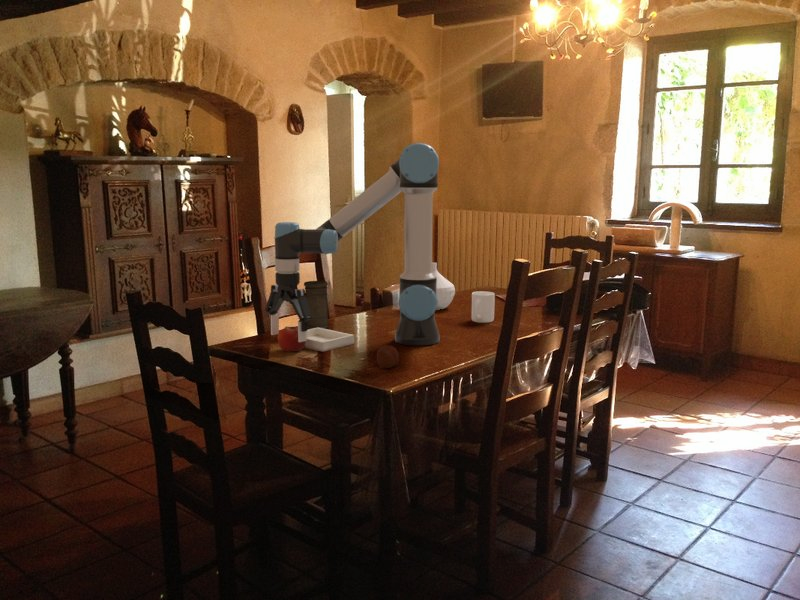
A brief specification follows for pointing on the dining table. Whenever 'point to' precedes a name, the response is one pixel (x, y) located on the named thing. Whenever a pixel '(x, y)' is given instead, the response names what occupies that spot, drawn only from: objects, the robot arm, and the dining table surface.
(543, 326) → the dining table surface
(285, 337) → the tomato
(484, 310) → the mug
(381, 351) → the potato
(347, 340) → the dish
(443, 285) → the vase
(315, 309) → the container
